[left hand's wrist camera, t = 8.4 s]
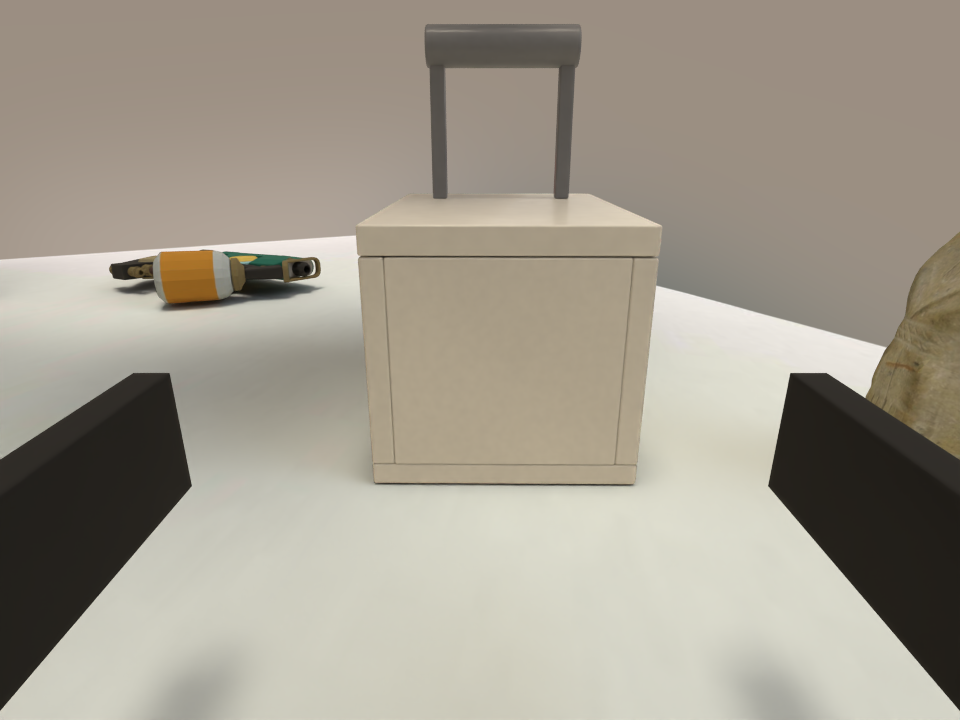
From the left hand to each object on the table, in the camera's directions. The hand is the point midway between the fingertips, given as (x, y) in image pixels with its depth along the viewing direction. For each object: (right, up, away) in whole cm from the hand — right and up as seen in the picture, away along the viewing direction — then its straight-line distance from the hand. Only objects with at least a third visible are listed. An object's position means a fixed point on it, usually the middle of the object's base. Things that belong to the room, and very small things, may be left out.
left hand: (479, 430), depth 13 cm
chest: (+1, -1, +17) cm, 17 cm away
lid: (+1, +8, +14) cm, 16 cm away
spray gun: (-25, +8, +42) cm, 49 cm away
